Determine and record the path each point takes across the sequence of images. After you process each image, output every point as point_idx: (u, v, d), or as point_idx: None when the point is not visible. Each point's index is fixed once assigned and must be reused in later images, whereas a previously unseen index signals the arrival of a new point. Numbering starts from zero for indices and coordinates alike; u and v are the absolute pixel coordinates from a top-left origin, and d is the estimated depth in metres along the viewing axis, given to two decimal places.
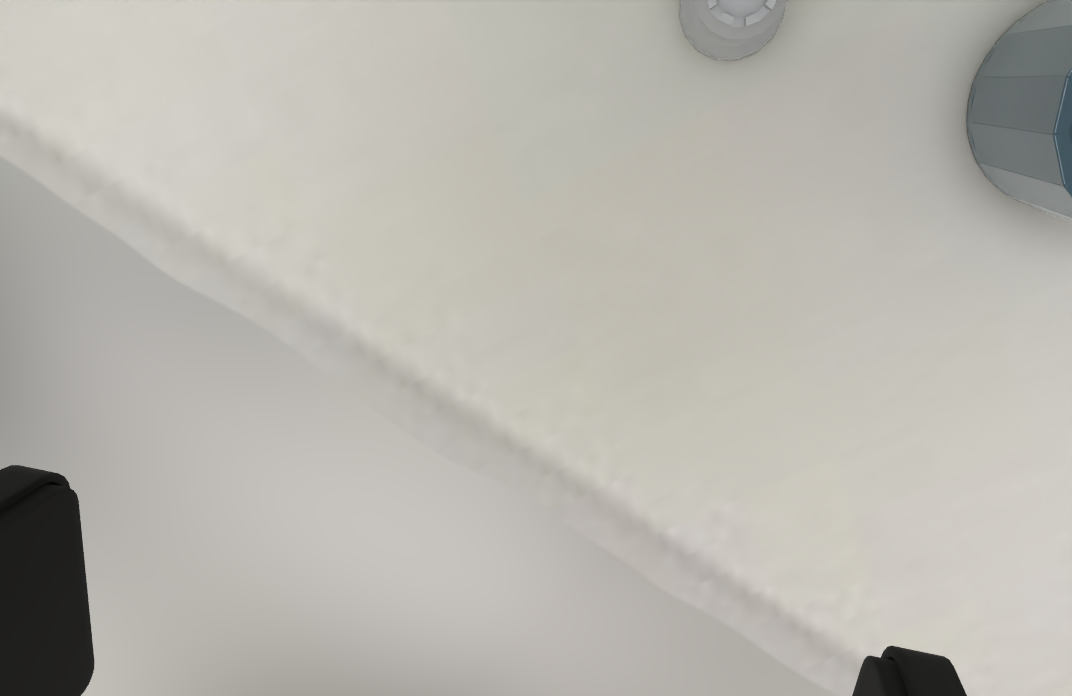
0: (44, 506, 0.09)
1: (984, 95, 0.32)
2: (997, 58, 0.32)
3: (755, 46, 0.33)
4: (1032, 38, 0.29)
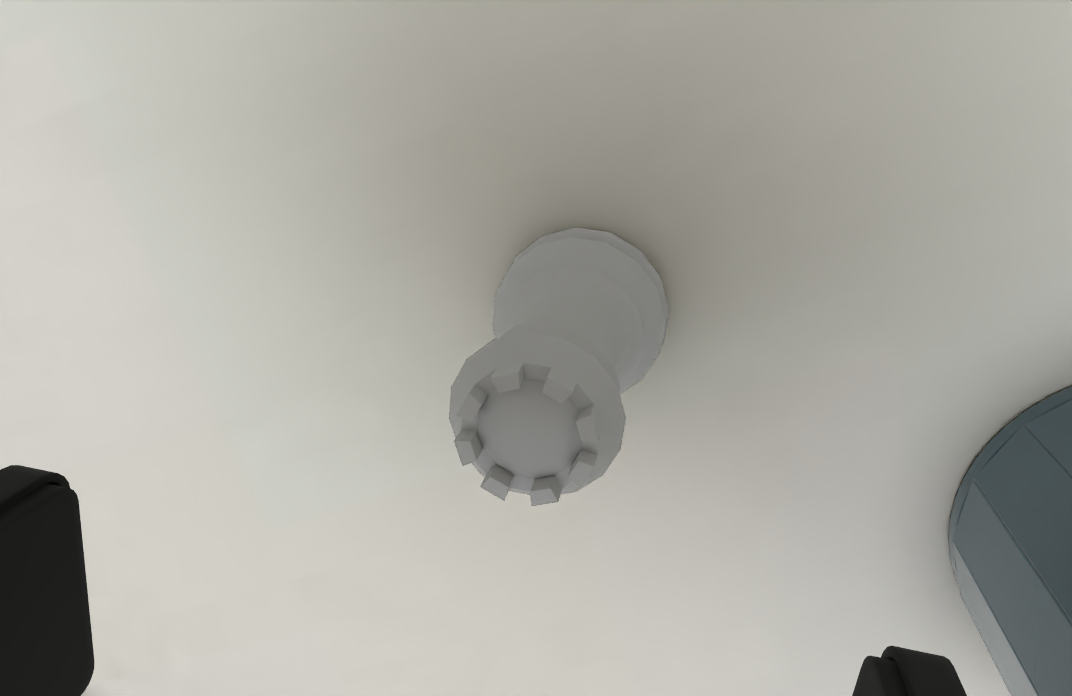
0: (44, 506, 0.09)
1: (981, 529, 0.19)
2: (1009, 474, 0.19)
3: None
4: None
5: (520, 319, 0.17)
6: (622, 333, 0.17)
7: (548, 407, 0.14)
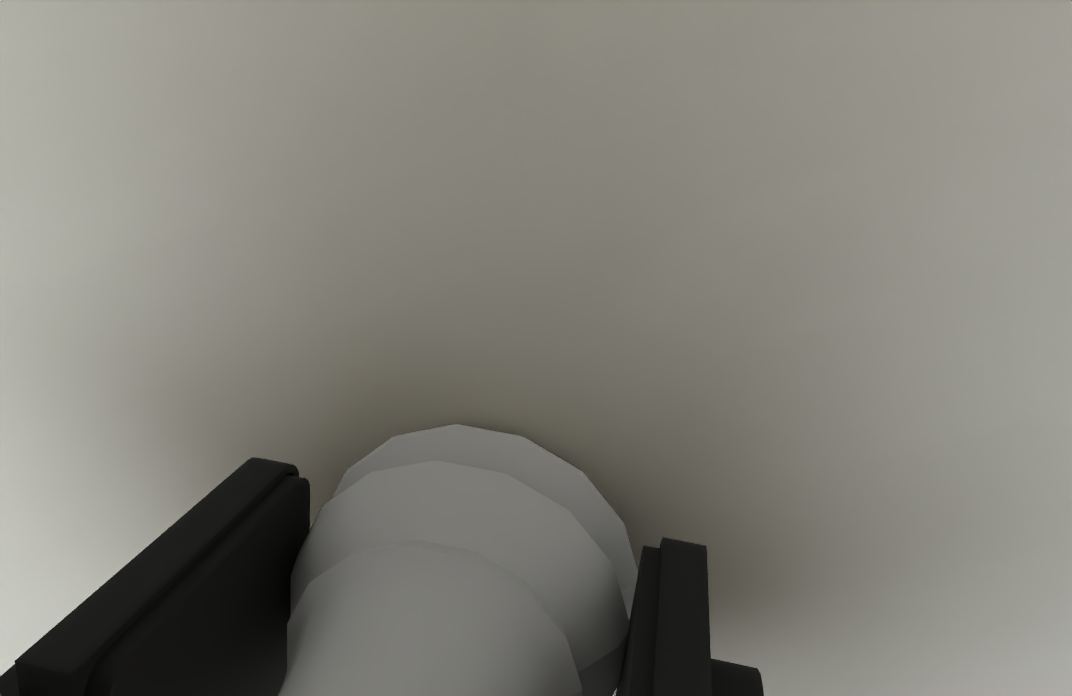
0: (290, 494, 0.10)
1: None
2: None
3: None
4: None
5: None
6: None
7: None
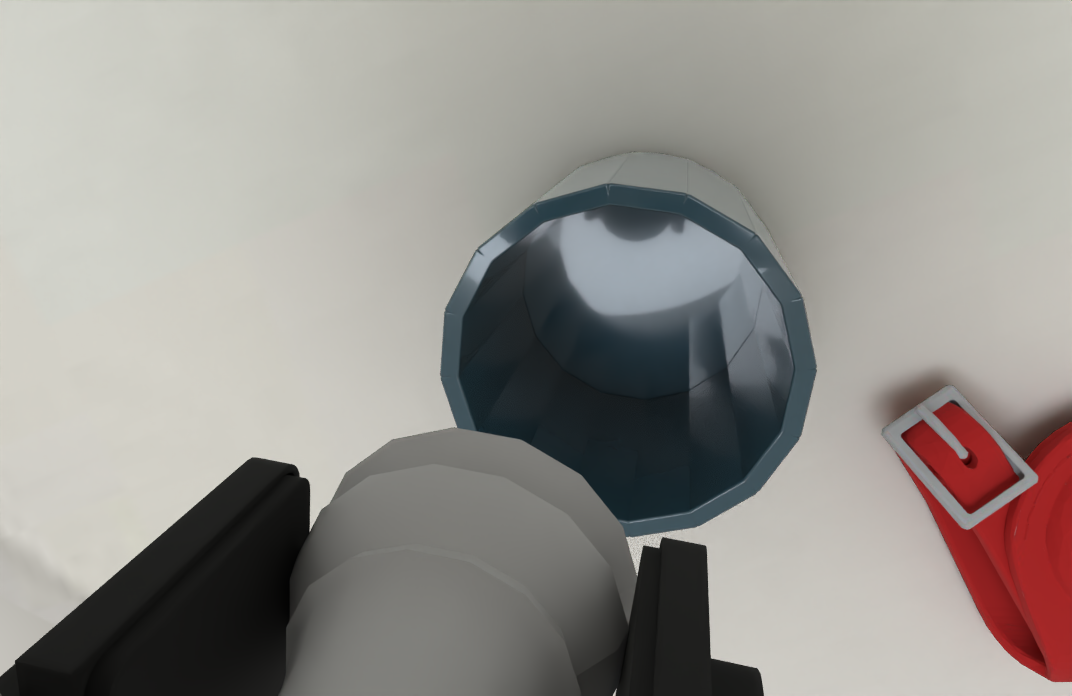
0: (290, 494, 0.10)
1: None
2: None
3: None
4: None
5: None
6: None
7: None
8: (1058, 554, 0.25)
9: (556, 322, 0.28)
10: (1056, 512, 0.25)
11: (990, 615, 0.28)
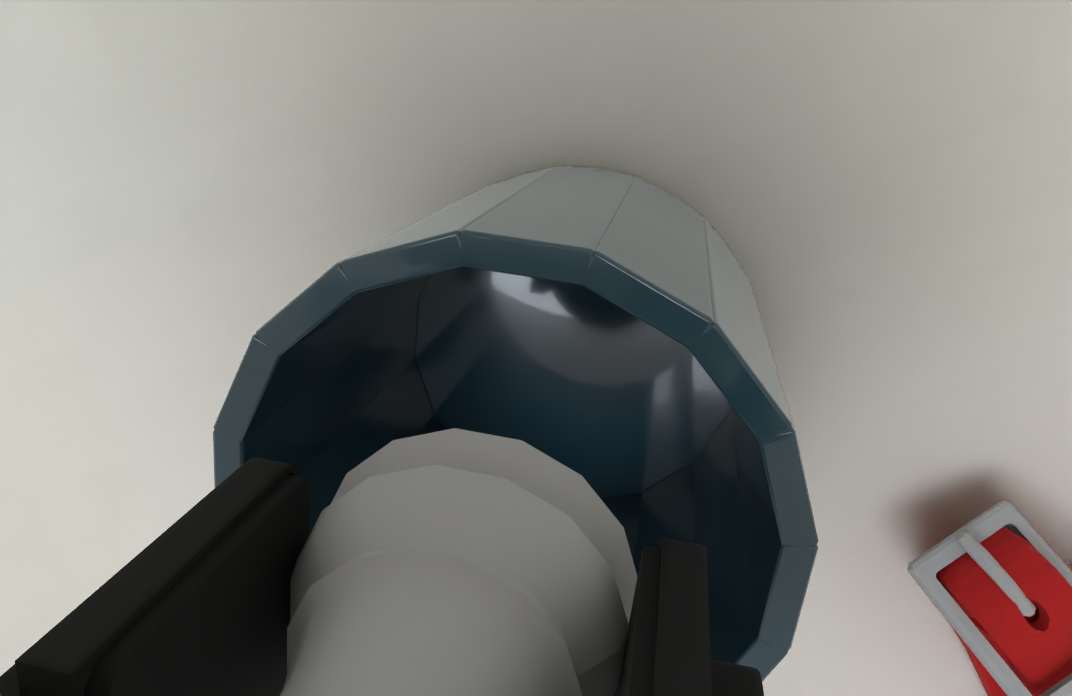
0: (290, 495, 0.10)
1: None
2: None
3: None
4: None
5: None
6: None
7: None
8: None
9: (460, 397, 0.20)
10: None
11: None
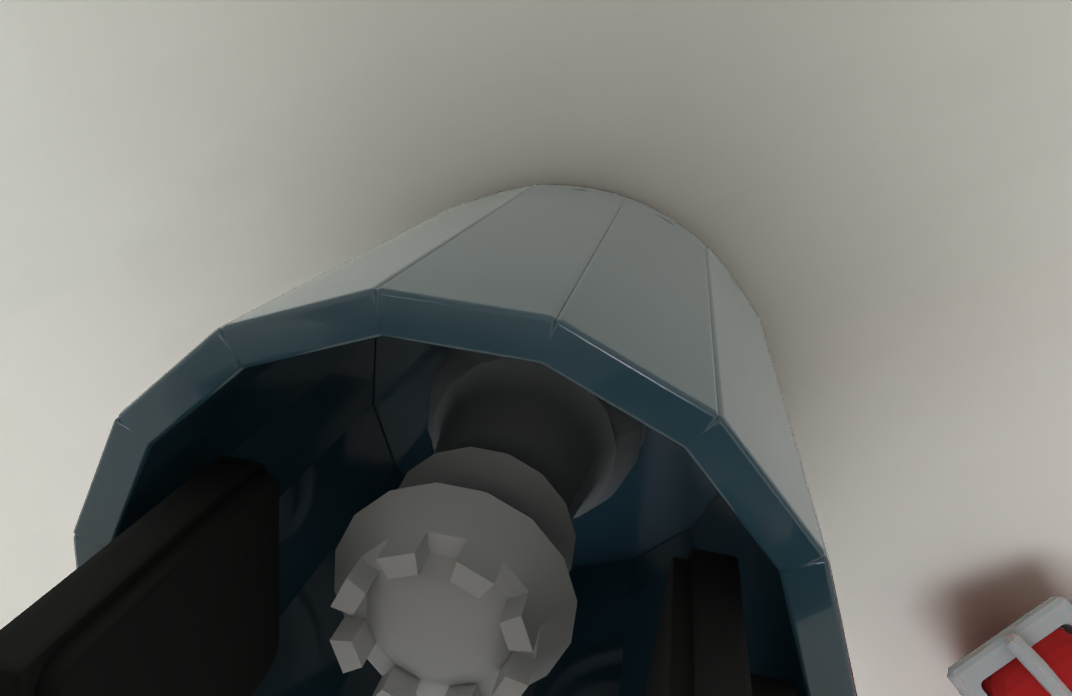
0: (258, 493, 0.09)
1: None
2: None
3: (573, 517, 0.15)
4: None
5: (450, 434, 0.13)
6: (585, 448, 0.13)
7: (464, 596, 0.09)
8: None
9: (426, 448, 0.18)
10: None
11: None
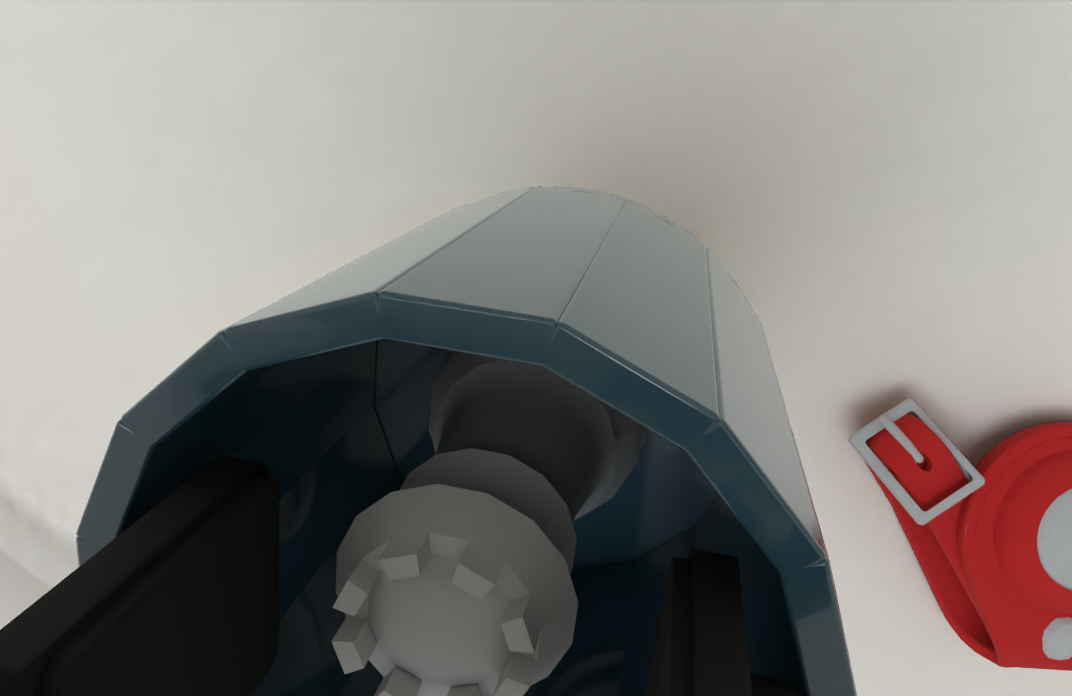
0: (257, 493, 0.10)
1: None
2: None
3: (574, 518, 0.15)
4: None
5: (451, 435, 0.13)
6: (586, 449, 0.13)
7: (465, 597, 0.09)
8: (1004, 549, 0.28)
9: (427, 449, 0.18)
10: (1002, 512, 0.28)
11: (948, 608, 0.31)
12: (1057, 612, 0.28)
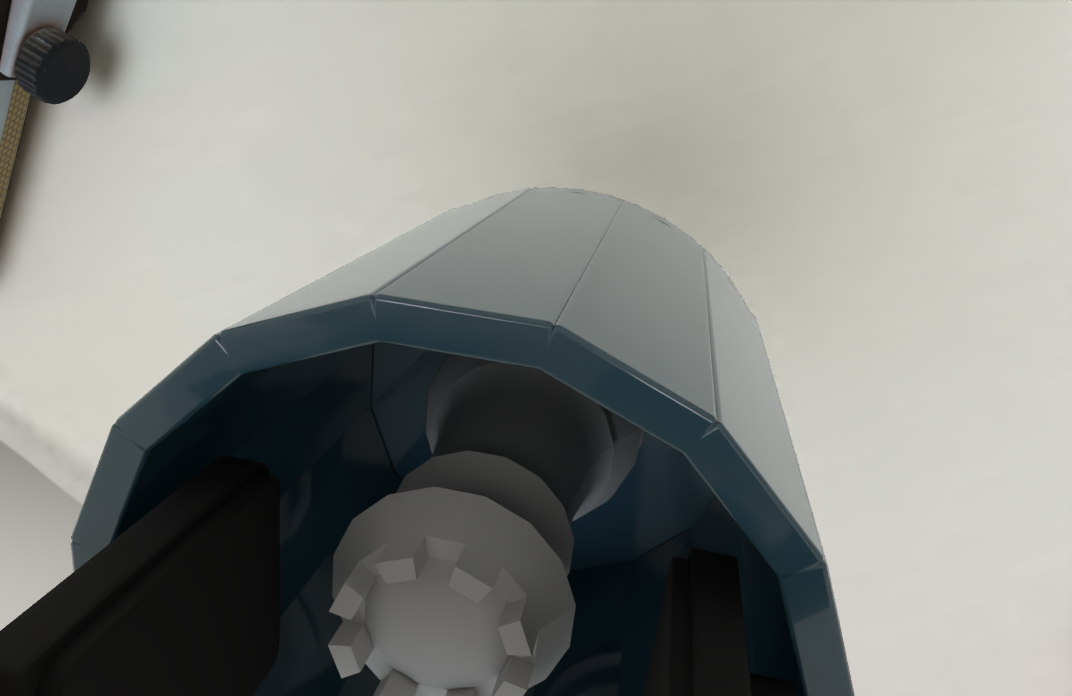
0: (259, 493, 0.10)
1: None
2: None
3: (571, 520, 0.15)
4: None
5: (447, 437, 0.13)
6: (583, 451, 0.13)
7: (462, 600, 0.09)
8: None
9: (423, 451, 0.18)
10: None
11: None
12: None
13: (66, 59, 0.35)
